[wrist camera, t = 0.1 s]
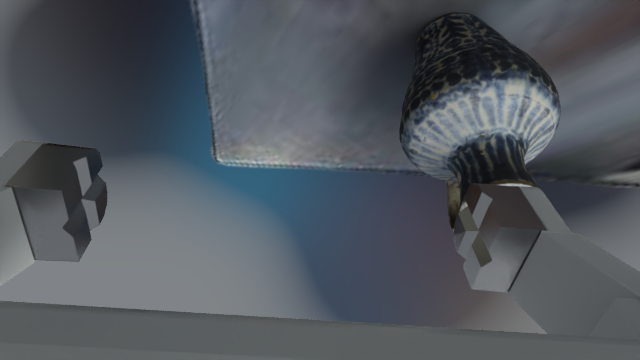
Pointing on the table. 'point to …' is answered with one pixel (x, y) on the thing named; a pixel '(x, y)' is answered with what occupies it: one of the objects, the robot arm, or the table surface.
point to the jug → (475, 108)
